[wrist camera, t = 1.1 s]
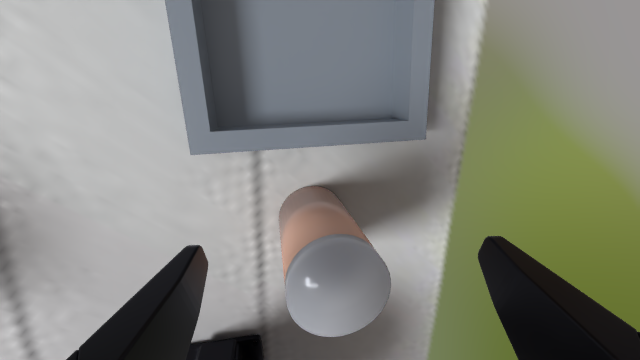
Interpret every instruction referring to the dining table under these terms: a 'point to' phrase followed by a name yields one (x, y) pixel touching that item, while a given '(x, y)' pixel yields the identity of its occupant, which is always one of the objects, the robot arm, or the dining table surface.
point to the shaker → (329, 265)
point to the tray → (301, 72)
